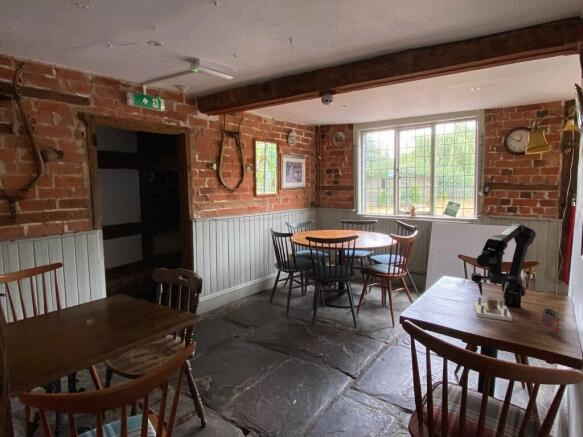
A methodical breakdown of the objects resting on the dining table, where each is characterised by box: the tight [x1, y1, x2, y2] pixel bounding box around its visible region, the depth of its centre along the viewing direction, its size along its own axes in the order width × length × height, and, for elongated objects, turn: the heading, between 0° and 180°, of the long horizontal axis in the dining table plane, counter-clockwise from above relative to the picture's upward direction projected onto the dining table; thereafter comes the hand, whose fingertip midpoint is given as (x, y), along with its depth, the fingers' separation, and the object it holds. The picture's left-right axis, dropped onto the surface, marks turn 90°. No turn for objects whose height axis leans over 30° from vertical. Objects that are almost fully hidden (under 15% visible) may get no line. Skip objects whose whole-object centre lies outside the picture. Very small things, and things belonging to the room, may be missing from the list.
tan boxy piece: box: [483, 296, 501, 314], centre depth 166 cm, size 6×9×5 cm, turn 158°
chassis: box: [473, 297, 513, 322], centre depth 167 cm, size 14×16×4 cm
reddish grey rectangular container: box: [539, 306, 561, 337], centre depth 145 cm, size 8×3×10 cm, turn 5°
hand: (492, 296), depth 166 cm, fingers open, 9 cm apart
